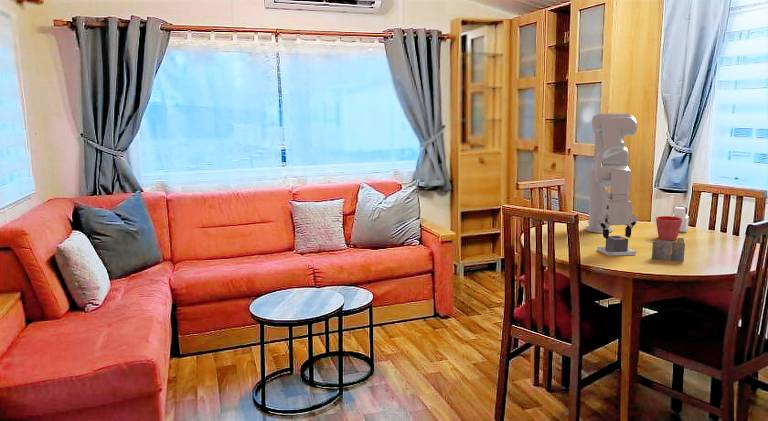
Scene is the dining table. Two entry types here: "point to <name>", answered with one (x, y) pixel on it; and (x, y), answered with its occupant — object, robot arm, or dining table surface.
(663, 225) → the flower pot
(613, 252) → the post
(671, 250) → the ruin model on sheet
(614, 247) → the gray rectangular sleeve
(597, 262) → the dining table surface
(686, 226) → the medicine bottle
